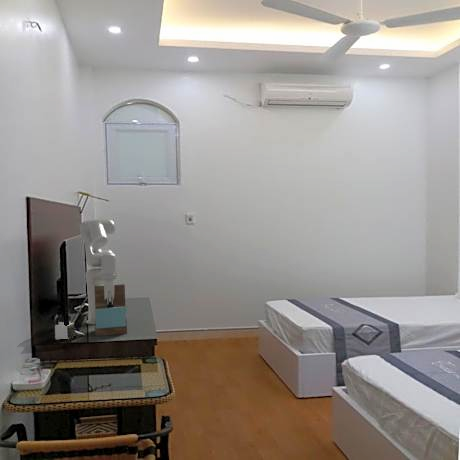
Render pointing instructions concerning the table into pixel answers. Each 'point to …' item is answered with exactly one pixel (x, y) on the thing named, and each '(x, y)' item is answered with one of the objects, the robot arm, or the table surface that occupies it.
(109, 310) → the panel
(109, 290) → the robot arm
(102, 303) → the striped wooden block
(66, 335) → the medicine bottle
